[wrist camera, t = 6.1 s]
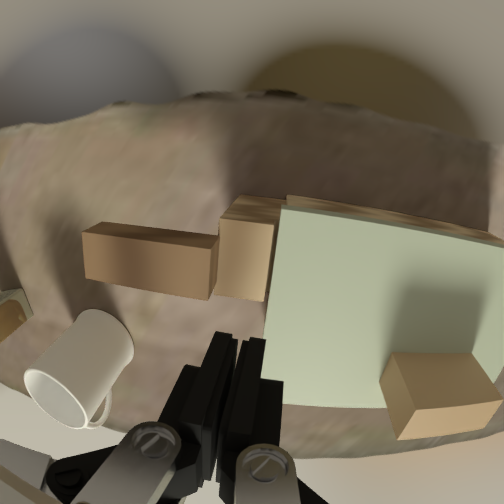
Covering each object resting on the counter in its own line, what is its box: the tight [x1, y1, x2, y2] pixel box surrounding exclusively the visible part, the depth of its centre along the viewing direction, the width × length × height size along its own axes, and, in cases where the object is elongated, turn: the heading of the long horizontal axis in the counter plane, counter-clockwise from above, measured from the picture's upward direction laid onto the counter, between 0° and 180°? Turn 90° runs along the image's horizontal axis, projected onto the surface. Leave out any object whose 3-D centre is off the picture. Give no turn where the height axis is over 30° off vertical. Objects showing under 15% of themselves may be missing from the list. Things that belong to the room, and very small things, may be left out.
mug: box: [24, 309, 134, 429], centre depth 29 cm, size 12×8×12 cm
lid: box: [261, 205, 504, 440], centre depth 17 cm, size 23×15×8 cm, turn 84°
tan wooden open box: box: [214, 194, 504, 302], centre depth 24 cm, size 26×14×10 cm, turn 84°
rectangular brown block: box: [82, 222, 220, 301], centre depth 18 cm, size 8×3×2 cm, turn 84°
